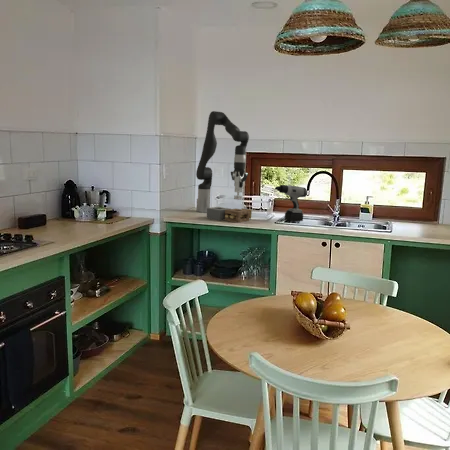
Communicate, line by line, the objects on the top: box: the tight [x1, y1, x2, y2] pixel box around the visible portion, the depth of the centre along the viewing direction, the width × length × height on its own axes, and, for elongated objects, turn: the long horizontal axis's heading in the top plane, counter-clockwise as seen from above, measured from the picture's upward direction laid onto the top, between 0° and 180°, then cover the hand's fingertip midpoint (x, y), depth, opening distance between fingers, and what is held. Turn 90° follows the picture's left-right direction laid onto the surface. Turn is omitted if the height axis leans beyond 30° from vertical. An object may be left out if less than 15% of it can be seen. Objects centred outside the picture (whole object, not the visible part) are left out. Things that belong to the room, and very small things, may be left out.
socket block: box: [224, 208, 250, 223], centre depth 327 cm, size 12×12×7 cm
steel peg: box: [233, 177, 243, 201], centre depth 324 cm, size 4×4×15 cm
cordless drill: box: [274, 184, 308, 222], centre depth 336 cm, size 8×24×25 cm, turn 115°
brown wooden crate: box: [225, 208, 253, 220], centre depth 328 cm, size 19×8×6 cm, turn 139°
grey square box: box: [206, 206, 230, 221], centre depth 332 cm, size 12×12×7 cm
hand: (238, 187), depth 324 cm, fingers closed on steel peg, 3 cm apart
